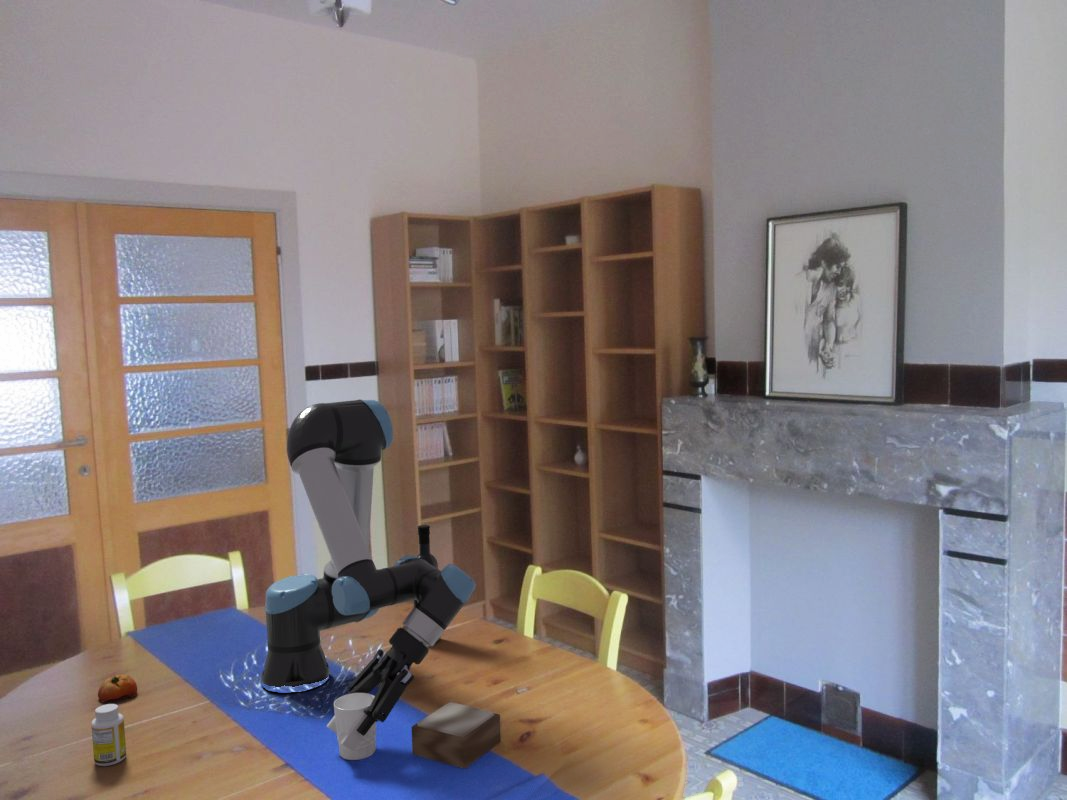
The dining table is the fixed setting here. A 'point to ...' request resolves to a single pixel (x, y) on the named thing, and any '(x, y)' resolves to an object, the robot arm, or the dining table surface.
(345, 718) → the white cup
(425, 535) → the wine bottle
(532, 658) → the dining table surface
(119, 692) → the tomato
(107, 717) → the supplement bottle
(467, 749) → the base
